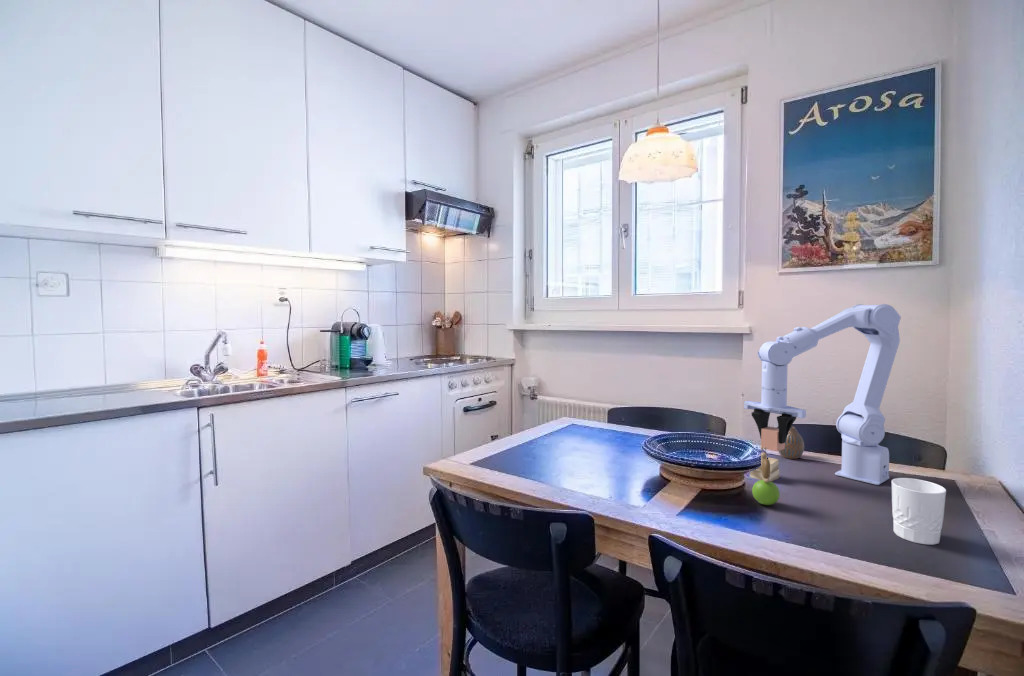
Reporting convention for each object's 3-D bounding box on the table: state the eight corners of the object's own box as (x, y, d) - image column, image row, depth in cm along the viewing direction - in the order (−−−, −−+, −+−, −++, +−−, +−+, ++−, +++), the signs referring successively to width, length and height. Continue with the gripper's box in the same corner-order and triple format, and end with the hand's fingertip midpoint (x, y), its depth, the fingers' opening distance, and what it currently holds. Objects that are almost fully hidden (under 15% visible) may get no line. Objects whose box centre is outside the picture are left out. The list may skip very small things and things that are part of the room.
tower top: (778, 468, 123) (778, 459, 123) (771, 473, 120) (771, 464, 119) (758, 464, 127) (758, 455, 126) (750, 469, 123) (750, 459, 123)
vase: (796, 453, 142) (797, 424, 142) (808, 460, 135) (809, 430, 135) (772, 453, 143) (772, 424, 142) (783, 460, 136) (783, 430, 135)
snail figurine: (775, 499, 110) (776, 447, 109) (781, 510, 103) (782, 456, 103) (749, 496, 111) (750, 445, 111) (753, 507, 105) (754, 454, 104)
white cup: (879, 528, 95) (880, 478, 94) (916, 525, 95) (917, 476, 95) (916, 548, 87) (918, 494, 86) (956, 545, 87) (958, 492, 87)
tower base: (779, 479, 123) (779, 469, 122) (769, 483, 120) (769, 473, 120) (759, 473, 127) (760, 464, 127) (749, 477, 124) (749, 468, 124)
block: (784, 448, 122) (785, 429, 122) (776, 451, 120) (777, 432, 120) (768, 445, 126) (769, 426, 125) (761, 447, 123) (761, 428, 123)
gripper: (738, 386, 126) (737, 437, 126) (796, 394, 114) (795, 450, 115) (752, 383, 130) (751, 432, 130) (810, 391, 118) (808, 445, 119)
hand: (772, 440), depth 123 cm, fingers closed on block, 4 cm apart
